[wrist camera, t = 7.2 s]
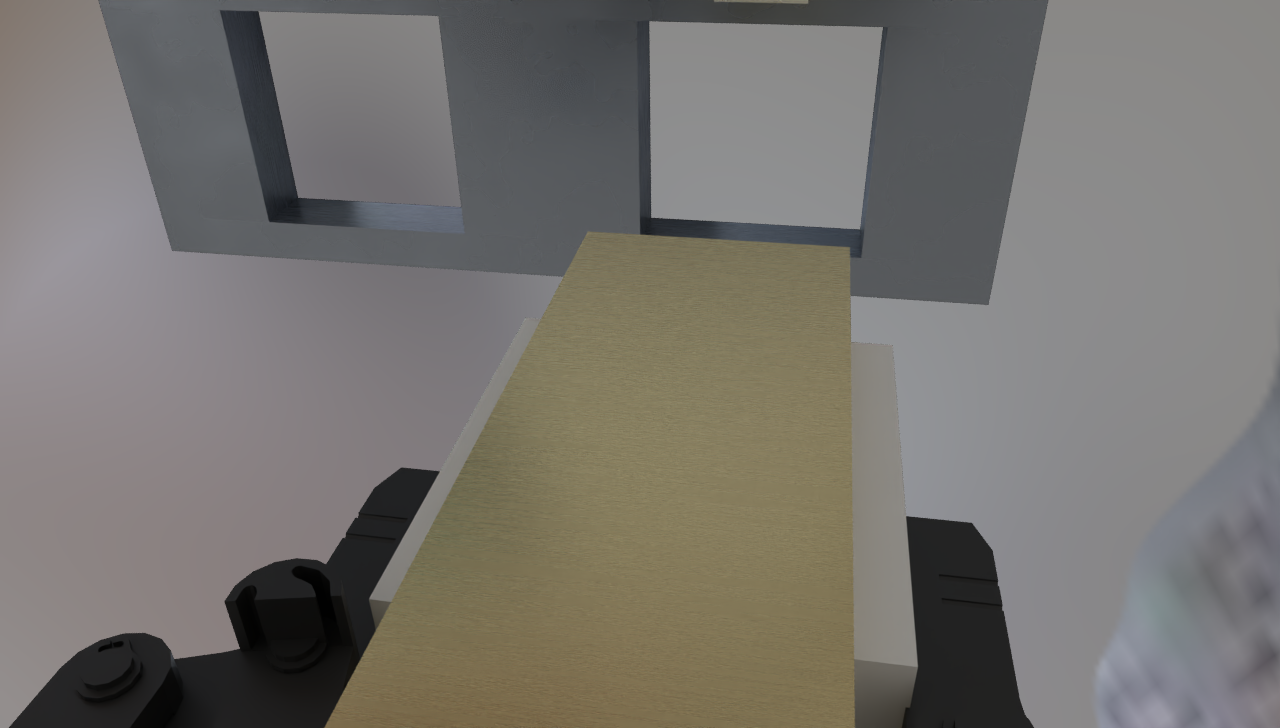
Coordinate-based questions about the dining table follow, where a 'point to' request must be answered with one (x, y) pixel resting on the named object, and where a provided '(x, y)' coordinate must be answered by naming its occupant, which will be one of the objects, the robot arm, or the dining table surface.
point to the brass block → (645, 510)
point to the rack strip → (580, 135)
